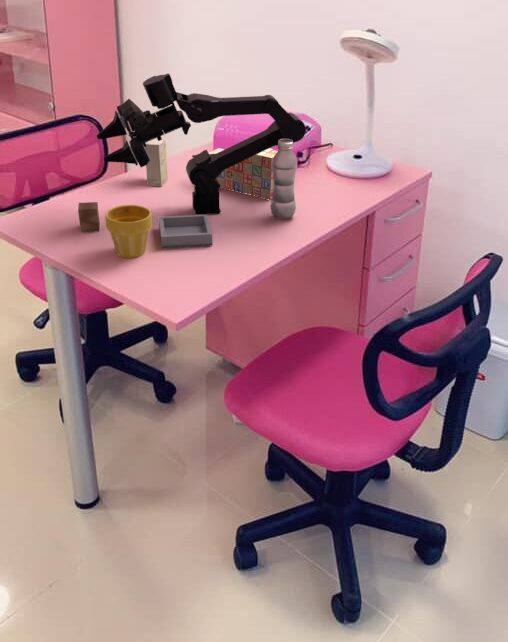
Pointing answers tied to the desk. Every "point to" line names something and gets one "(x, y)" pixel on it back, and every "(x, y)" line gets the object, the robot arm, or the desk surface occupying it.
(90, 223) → the walnut block
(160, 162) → the skincare box
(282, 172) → the plastic bottle
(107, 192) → the desk surface
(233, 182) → the stack of blocks
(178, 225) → the tray
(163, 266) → the desk surface
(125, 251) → the plant pot
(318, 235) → the desk surface
